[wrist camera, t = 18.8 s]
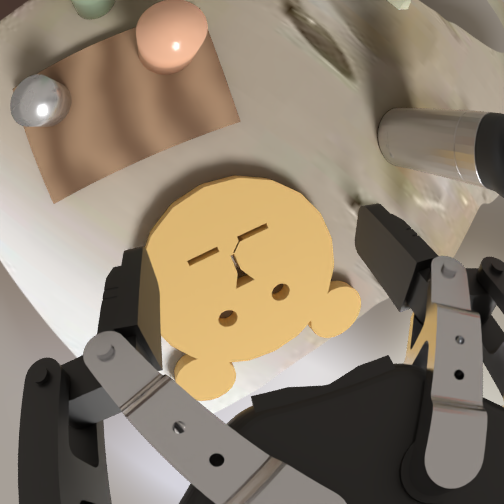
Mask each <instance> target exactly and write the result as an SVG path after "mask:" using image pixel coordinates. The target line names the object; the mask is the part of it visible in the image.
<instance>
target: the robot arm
mask: <svg viewBox="0 0 504 504" xmlns="http://www.w3.org/2000/svg"><path fill="white" fill-rule="evenodd" d="M378 140H379V146H380V149H381V152H382V154H383V156H384V157H385V158H386V160H387V161H388V162H389V163H391V164H393V165H395V166H399V167H404V168H408V169H413V170H417V171H421V172H425V173H430V174H434V175H438V176H442V177H446V178H450V179H454V180H458V181H461V182H465V183H469V184H473V185H476V186H480V187H483V188H486V189H490V190H493V191H496V192H497V193H498V194H499V195H501V196H502V197H503V198H504V114H501V113H492V112H481V111H467V110H452V109H427V108H395V109H391V110H389V111H388V112H387V113H386V114H385V115H384V116H383V118H382V120H381V122H380V125H379V130H378ZM355 247H356V250H357V253H358V254H359V256H360V257H361V258H362V260H363V261H364V263H365V264H366V265H367V267H368V268H369V269H370V271H371V272H372V273H373V275H374V276H375V278H376V279H377V280H378V282H379V283H380V285H381V286H382V287H383V289H384V290H385V292H386V293H387V294H388V296H389V297H390V299H391V300H392V302H393V303H394V304H395V306H396V307H397V309H398V310H399V312H402V311H405V310H407V309H410V308H411V309H412V311H413V313H412V316H411V320H410V321H411V322H410V330H409V338H408V345H407V352H406V358H405V361H404V364H393V363H392V361H391V359H390V357H389V356H388V355H387V356H385V357H382V358H379V359H377V360H374V361H371V362H368V363H365V364H363V365H360V366H358V367H356V368H355V369H353V370H351V371H350V372H348V373H347V374H345V375H344V376H342V377H340V378H339V379H337V380H336V381H334V382H332V383H331V384H329V385H324V386H307V387H287V388H283V389H279V390H275V391H272V392H267V393H263V394H259V395H255V396H251V398H252V403H253V406H251V407H249V408H247V409H245V410H243V411H242V412H240V413H239V414H237V415H236V416H235V417H234V418H233V419H231V420H230V421H229V422H228V423H227V424H225V423H224V422H223V421H221V420H220V419H219V418H218V417H216V416H215V415H214V414H213V413H211V412H210V411H209V410H208V409H206V408H205V407H204V406H203V405H202V404H200V403H199V402H198V401H197V400H196V399H194V398H193V397H192V396H191V395H190V394H189V393H187V392H186V391H185V390H184V389H183V388H182V387H181V386H179V385H178V384H177V383H176V382H175V381H174V380H173V379H171V378H170V377H169V376H167V375H164V376H163V375H162V374H160V373H159V372H158V371H160V370H163V369H162V351H161V324H160V291H159V285H158V281H157V278H156V275H155V272H154V270H153V267H152V264H151V261H150V258H149V255H148V252H147V250H146V248H145V247H139V248H134V249H130V250H125V251H124V253H123V259H122V266H118V267H113V269H112V270H111V272H110V273H109V275H108V276H107V278H106V282H105V288H104V290H105V291H104V293H103V301H102V305H101V311H100V318H99V324H98V332H97V335H96V336H94V337H93V338H92V339H90V341H89V342H88V343H87V345H86V346H85V349H84V352H83V355H82V356H80V357H78V358H76V359H74V360H72V361H70V362H67V363H65V364H63V365H60V364H59V363H58V362H57V361H56V360H54V359H52V358H42V359H40V360H38V361H36V362H35V363H34V364H33V365H32V366H31V367H30V369H29V370H28V372H27V375H26V378H25V384H24V391H23V399H22V408H21V418H20V430H19V449H18V489H19V504H112V503H111V496H110V490H109V481H108V473H107V464H106V453H105V441H104V425H103V420H104V419H106V418H109V417H111V416H114V415H116V414H118V413H120V412H122V413H123V414H124V415H125V417H127V419H128V420H129V421H130V422H131V424H132V425H133V426H134V427H135V428H136V429H137V430H138V431H139V432H140V433H141V435H142V436H143V437H144V438H145V439H146V440H147V441H148V442H149V443H150V444H151V445H152V446H153V447H154V448H155V449H156V450H157V451H158V452H159V453H160V454H161V455H162V456H163V457H164V458H165V459H166V460H167V461H168V462H169V463H170V464H171V465H172V466H173V467H174V468H175V469H176V470H177V471H178V472H179V473H180V474H181V475H183V476H184V477H185V478H186V479H187V480H188V481H189V482H190V483H191V484H190V486H189V488H188V489H187V491H186V493H185V494H184V496H183V498H182V499H181V501H180V503H179V504H504V405H503V406H500V405H498V404H496V403H494V402H491V401H489V400H487V399H485V398H483V363H484V364H485V366H486V368H487V370H488V371H489V373H490V375H491V377H492V378H493V380H494V382H495V384H496V385H497V387H498V389H499V391H500V393H501V395H502V397H503V399H504V332H503V331H502V329H501V328H500V326H499V325H498V324H497V322H496V321H495V319H494V318H493V316H492V315H491V314H492V312H493V310H494V308H495V307H496V305H497V306H498V307H499V308H500V310H501V311H502V312H503V314H504V262H502V261H501V260H499V259H497V258H494V257H486V258H484V259H483V260H482V262H481V264H480V267H479V268H478V269H476V268H472V269H471V268H465V267H464V266H463V265H462V264H461V263H460V262H459V261H457V260H456V259H454V258H451V257H448V256H438V255H437V254H436V253H435V252H434V251H433V250H432V249H431V248H430V247H429V246H428V245H427V243H426V242H425V241H424V240H423V239H422V238H421V237H420V236H417V233H416V232H415V231H414V230H413V229H411V227H410V226H409V225H408V224H407V223H406V222H405V221H404V220H402V219H400V218H399V217H397V216H395V215H393V214H390V213H389V212H388V211H387V210H386V209H385V208H384V207H383V206H382V205H381V204H372V205H366V206H361V207H360V209H359V212H358V220H357V227H356V235H355Z"/></svg>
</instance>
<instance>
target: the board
mask: <svg viewBox="0 0 504 504" xmlns="http://www.w3.org/2000/svg"><path fill="white" fill-rule="evenodd" d="M199 9H200V8H199ZM37 74H39V75H44V76H47V77H49V78H51V79H53V80H55V81H57V82H59V83H61V84H63V85H64V86H66V87H67V88H68V90H69V91H70V94H71V107H70V110H69V112H68V114H67V116H66V117H65V118H64V119H63V120H62V121H61V122H60V123H58V124H56V125H54V126H49V127H26V126H24V129H25V132H26V135H27V138H28V141H29V144H30V146H31V149H32V152H33V155H34V157H35V160H36V162H37V165H38V168H39V170H40V173H41V175H42V178H43V180H44V182H45V185H46V187H47V189H48V192H49V194H50V196H51V199H52V201H53V203H54V204H55V203H56V202H58V201H60V200H62V199H64V198H65V197H67V196H69V195H71V194H73V193H75V192H77V191H78V190H80V189H82V188H84V187H86V186H88V185H90V184H92V183H94V182H96V181H98V180H100V179H102V178H104V177H106V176H108V175H110V174H112V173H114V172H116V171H118V170H120V169H123V168H125V167H127V166H129V165H131V164H133V163H136V162H138V161H140V160H142V159H145V158H147V157H149V156H151V155H154V154H156V153H158V152H161V151H163V150H166V149H168V148H170V147H173V146H175V145H178V144H180V143H183V142H185V141H188V140H191V139H193V138H196V137H198V136H201V135H204V134H206V133H209V132H212V131H215V130H217V129H220V128H223V127H226V126H229V125H232V124H235V123H238V122H240V119H239V116H238V113H237V110H236V107H235V104H234V101H233V98H232V96H231V93H230V90H229V87H228V84H227V81H226V78H225V76H224V73H223V70H222V67H221V64H220V62H219V59H218V56H217V53H216V50H215V48H214V45H213V42H212V39H211V37H210V34H209V31H208V30H207V35H206V38H205V40H204V42H203V43H202V45H201V46H200V48H199V50H198V52H197V53H196V55H195V57H194V58H193V60H192V61H191V63H190V64H189V65H188V66H187V67H186V68H184V69H183V70H181V71H179V72H177V73H174V74H169V75H160V74H156V73H153V72H151V71H149V70H148V69H146V68H145V67H144V66H143V65H142V63H141V61H140V59H139V56H138V47H137V38H136V27H135V28H132V29H130V30H127V31H124V32H122V33H119V34H117V35H114V36H112V37H109V38H107V39H105V40H102V41H100V42H98V43H95V44H93V45H91V46H89V47H87V48H84V49H82V50H80V51H78V52H76V53H74V54H72V55H70V56H68V57H66V58H64V59H62V60H60V61H59V62H57V63H55V64H53V65H51V66H49V67H48V68H46V69H44V70H42V71H41V72H39V73H37ZM37 74H36V75H37ZM16 87H17V86H16ZM16 87H15V88H13V93H14V91H15V89H16Z"/></svg>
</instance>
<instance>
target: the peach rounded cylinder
mask: <svg viewBox="0 0 504 504" xmlns="http://www.w3.org/2000/svg"><path fill="white" fill-rule="evenodd" d="M207 30H208V25H207V20H206V17H205V15H204V14H203V12H202V11H201V10H200V9H199V8H198V7H197V6H195V5H194V4H192V3H190V2H187V1H184V0H165V1H161V2H158V3H156V4H154V5H152V6H151V7H149V8H148V9H147V10H146V11H145V12H144V13H143V14H142V15H141V17H140V19H139V21H138V23H137V27H136V38H137V47H138V56H139V59H140V61H141V63H142V65H143V66H144V67H145V68H146V69H148V70H149V71H151V72H153V73H156V74H160V75H169V74H174V73H177V72H179V71H181V70H183V69H184V68H186V67H187V66H188V65H189V64H190V63H191V61H192V60H193V58H194V57H195V55H196V53H197V52H198V50H199V48H200V46H201V45H202V43H203V42H204V40H205V38H206V35H207Z"/></svg>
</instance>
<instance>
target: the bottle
mask: <svg viewBox="0 0 504 504" xmlns="http://www.w3.org/2000/svg"><path fill="white" fill-rule="evenodd" d="M71 2H72V4H73V6H74V7H75V9H76V11H77V13H78V15H79V16H80V17H82V18H84V19H96V18H99V17H101V16H103V15H105V14H106V13H107V12H109V11H110V9H111V8H112V7H113V5H114V2H115V0H71Z"/></svg>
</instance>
